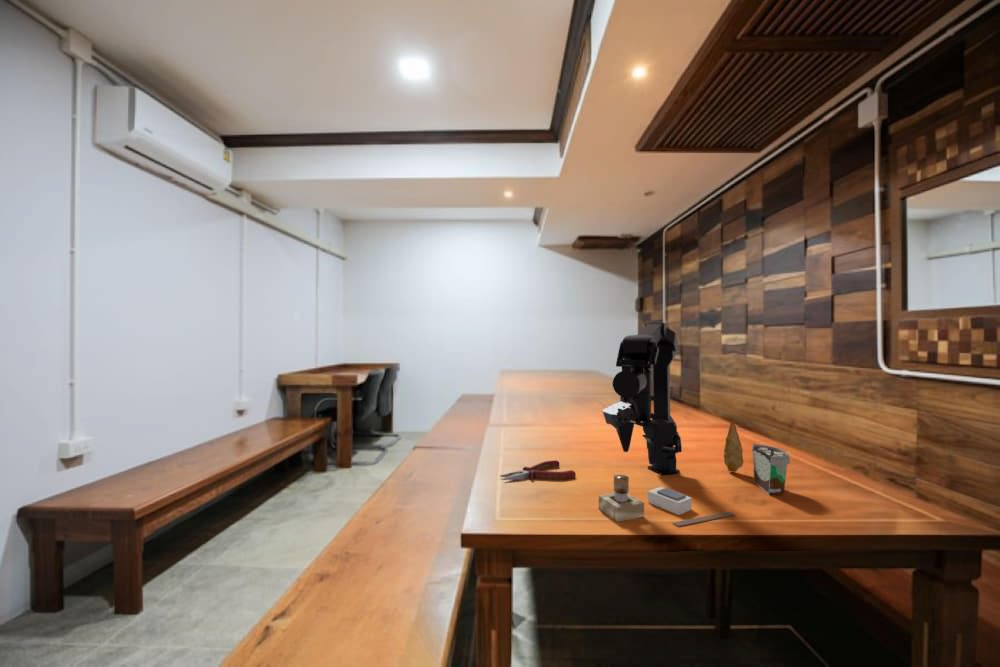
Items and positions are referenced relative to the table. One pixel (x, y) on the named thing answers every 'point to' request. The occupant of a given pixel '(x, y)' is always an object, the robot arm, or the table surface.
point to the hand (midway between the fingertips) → (638, 457)
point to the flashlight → (621, 488)
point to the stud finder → (670, 500)
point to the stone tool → (733, 449)
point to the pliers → (540, 472)
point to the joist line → (703, 519)
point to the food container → (770, 468)
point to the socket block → (621, 507)
